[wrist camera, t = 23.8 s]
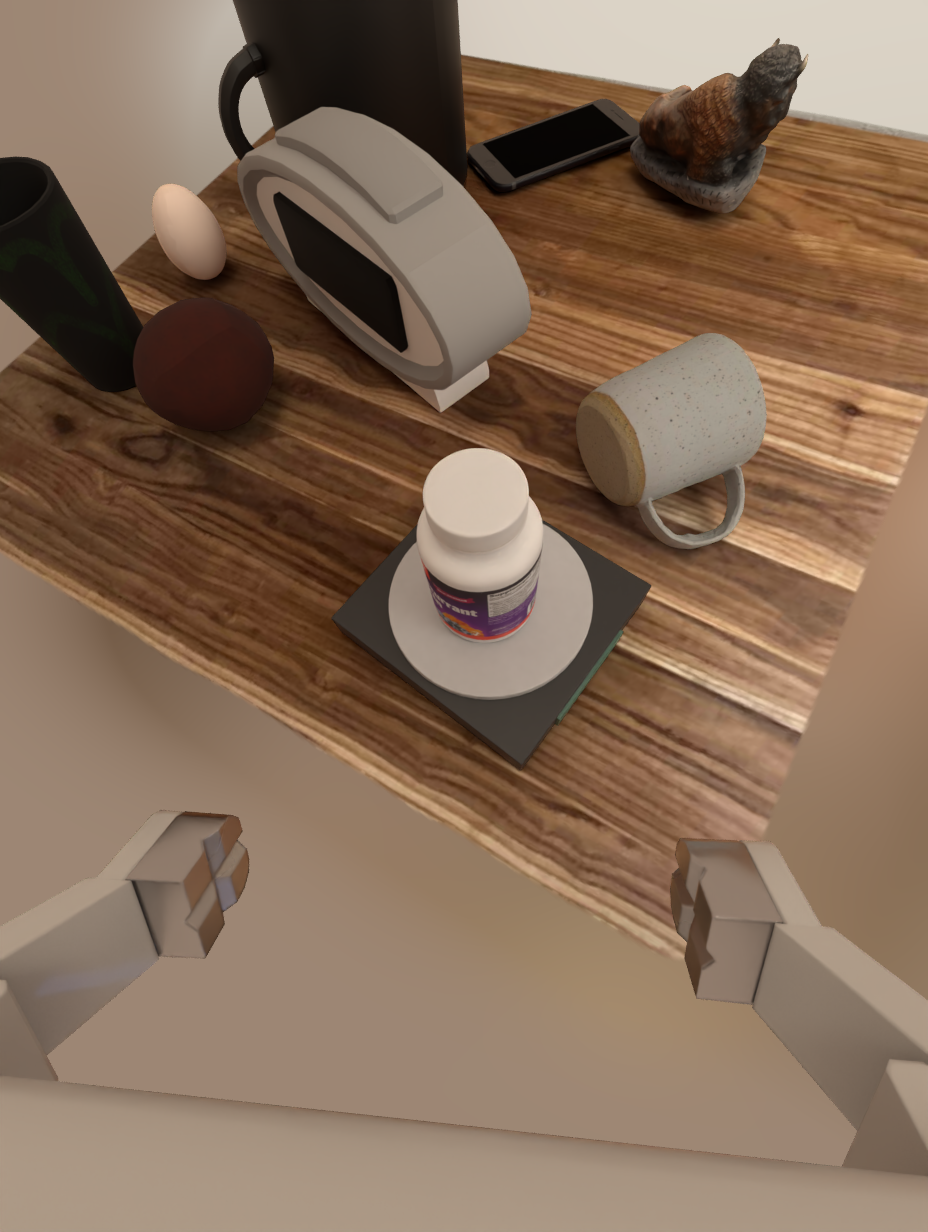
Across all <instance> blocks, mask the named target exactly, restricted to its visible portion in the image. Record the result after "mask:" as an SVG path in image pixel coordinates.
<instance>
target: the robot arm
mask: <svg viewBox="0 0 928 1232" xmlns="http://www.w3.org/2000/svg"><path fill="white" fill-rule="evenodd" d="M241 833H242V828H241V824H240V820H239V818H238V817H236V816H233V815H224V814H211V813H199V812H186V811H185V812H178V811H166V810H160V811H158V812H156V813H154V814H152V815H151V816H150V817H149V818H148V819H147V821H146V822H145V823H144V824H143V825H142V826H141V827H140V829H139V830H138V831H137V832H136V833H135V834H134V835H133V837H132V838H131V839H130V840H129V841H128V842H127V843H126V844H125V845H124V847H123V848H122V849H121V850H120V851H119V852H118V853H117V854H116V856H115V857H114V858H113V859H112V860H111V861H110V862H109V864H108V865H107V866H106V867H105V868H104V869H103V870H102V871H101V872H100V874H99V875H98V876H97V877H96V878H86V879H84V880H83V881H81V882H79V883H77V884H75V885H74V886H72V887H70V888H68V889H67V890H65V891H63V892H61V893H59V894H58V895H56V896H54V897H52V898H50V899H49V900H47V901H45V902H43V903H42V904H40V905H38V906H36V907H34V908H33V909H31V910H29V911H27V912H25V913H24V914H22V915H20V916H18V917H16V918H15V919H13V920H11V921H9V922H7V923H6V924H4V925H2V926H0V1232H928V1000H926V999H925V998H924V997H923V996H921V995H920V994H919V993H917V992H916V991H914V990H913V989H912V988H911V987H909V986H908V985H907V984H906V983H904V982H903V981H902V980H900V979H899V978H898V977H896V976H895V975H894V974H893V973H891V972H890V971H888V970H887V969H886V968H885V967H883V966H882V965H881V964H879V963H878V962H877V961H876V960H874V959H873V958H872V957H870V956H869V955H868V954H866V953H865V952H864V951H862V950H861V949H860V948H859V947H857V946H856V945H855V944H853V943H852V942H851V941H850V940H848V939H847V938H845V937H844V936H843V935H841V934H840V933H839V932H838V931H836V930H835V929H834V928H832V927H824V926H822V925H821V923H820V922H819V920H818V918H817V917H816V915H815V913H814V911H813V909H812V908H811V906H810V904H809V902H808V901H807V899H806V897H805V895H804V894H803V892H802V890H801V889H800V887H799V885H798V883H797V881H796V880H795V878H794V876H793V874H792V873H791V871H790V869H789V867H788V866H787V864H786V862H785V861H784V859H783V857H782V855H781V854H780V852H779V850H778V848H777V847H776V846H775V845H774V844H773V843H772V842H767V841H743V840H740V841H737V840H715V839H692V838H680V839H679V841H678V843H677V847H676V852H675V856H676V859H677V862H678V865H679V868H678V869H677V870H676V871H675V872H674V873H673V874H672V878H671V887H670V894H671V908H672V914H673V919H674V923H675V926H676V930H677V933H678V934H679V935H680V936H681V937H682V938H683V939H684V940H685V941H686V942H687V947H686V952H685V961H686V965H687V968H688V971H689V974H690V978H691V981H692V985H693V988H694V991H695V995H696V998H697V999H706V1000H715V1001H724V1002H732V1003H742V1004H751V1005H753V1007H752V1008H753V1009H754V1010H755V1011H756V1012H757V1014H758V1015H759V1016H760V1017H761V1018H762V1020H763V1021H764V1022H765V1023H766V1024H767V1025H768V1027H769V1028H770V1029H771V1030H772V1031H773V1033H774V1034H775V1035H776V1036H777V1037H778V1038H779V1039H780V1041H781V1042H782V1043H783V1044H784V1045H785V1047H786V1048H787V1049H788V1050H789V1051H790V1052H791V1054H792V1055H793V1056H794V1057H795V1058H796V1059H797V1061H798V1062H799V1063H800V1064H801V1065H802V1067H803V1068H804V1069H805V1070H806V1071H807V1072H808V1074H809V1075H810V1076H811V1077H812V1078H813V1079H814V1081H815V1082H816V1083H817V1084H818V1085H819V1086H820V1088H821V1089H822V1090H823V1091H824V1092H825V1094H826V1095H827V1096H828V1097H829V1098H830V1099H831V1101H832V1102H833V1103H834V1104H835V1105H836V1106H837V1107H838V1109H839V1110H840V1111H841V1112H842V1113H843V1115H844V1116H845V1117H846V1118H847V1119H848V1120H849V1121H850V1123H851V1124H852V1125H853V1126H854V1128H855V1129H856V1130H857V1133H856V1136H855V1138H854V1141H853V1143H852V1145H851V1147H850V1149H849V1151H848V1154H847V1156H846V1158H845V1160H844V1163H843V1165H842V1167H839V1166H828V1165H820V1164H811V1163H802V1162H793V1161H783V1160H774V1159H765V1158H756V1157H755V1158H754V1157H746V1156H738V1155H728V1154H719V1153H710V1152H701V1151H692V1150H682V1149H673V1148H664V1147H655V1146H646V1145H636V1144H627V1143H618V1142H609V1141H600V1140H591V1139H581V1138H573V1137H563V1136H554V1135H544V1134H536V1133H526V1132H517V1131H508V1130H499V1129H490V1128H482V1127H472V1126H463V1125H454V1124H445V1123H435V1122H426V1121H418V1120H408V1119H398V1118H388V1117H379V1116H371V1115H361V1114H352V1113H343V1112H334V1111H325V1110H315V1109H306V1108H296V1107H288V1106H279V1105H269V1104H260V1103H250V1102H242V1101H232V1100H223V1099H214V1098H205V1097H195V1096H186V1095H176V1094H168V1093H159V1092H150V1091H140V1090H132V1089H122V1088H113V1087H104V1086H95V1085H86V1084H77V1083H67V1082H58V1076H57V1075H56V1073H55V1071H54V1069H53V1067H52V1065H51V1063H50V1062H49V1060H48V1058H47V1055H48V1054H49V1053H50V1052H51V1051H52V1050H54V1048H56V1047H57V1046H58V1045H59V1044H61V1043H62V1042H63V1041H64V1040H65V1039H66V1038H68V1037H69V1036H70V1035H71V1034H72V1033H73V1032H75V1031H76V1030H77V1029H78V1028H79V1027H80V1026H82V1025H83V1024H84V1023H85V1022H86V1021H87V1020H89V1019H90V1018H91V1017H92V1016H93V1015H94V1014H96V1013H97V1012H98V1011H99V1010H100V1009H101V1008H103V1007H104V1006H105V1005H106V1004H107V1003H108V1002H110V1001H111V1000H112V999H113V998H114V997H116V996H117V995H118V994H119V993H120V992H121V991H123V990H124V989H125V988H126V987H127V986H128V985H130V984H131V983H132V982H133V981H134V980H135V979H136V978H138V977H139V976H140V975H141V974H142V973H143V972H145V971H146V970H147V969H148V968H149V967H151V966H152V965H153V964H154V963H155V962H156V961H157V960H159V957H158V956H162V957H184V958H203V959H204V958H206V956H207V954H208V953H209V951H210V949H211V947H212V946H213V944H214V942H215V940H216V939H217V937H218V935H219V933H220V931H221V930H222V928H223V926H224V924H225V923H224V917H223V912H224V911H225V910H227V909H228V908H230V907H231V906H232V905H233V904H235V903H236V902H237V901H238V899H239V897H240V896H241V894H242V892H243V890H244V888H245V884H246V881H247V877H248V873H249V856H248V852H247V849H246V848H245V847H244V846H243V845H242V844H241V843H240V842H239V841H238V840H237V839H238V838H239V836H240V834H241Z"/></svg>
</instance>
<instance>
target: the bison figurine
mask: <svg viewBox="0 0 928 1232" xmlns="http://www.w3.org/2000/svg"><path fill="white" fill-rule="evenodd" d="M779 41H780V39H779V38H778V39H777V40H776V41H775V43H774V44H773V45H772V47H770V48H768V49H767V50H766V51H764V52H763V53H762V54H760V55H759V56H757V57H756V58H755V59H754V60H753V61H752V62H751V63H750V66H749V68H748V70H747V71H746V72H745V73H744V74H743V75H742V76H741V77H736V76H734V75H733V74H730V73H725V74H722V75H720V76H717V77H714V78H712V79H711V80H709V81H707V82H705V83H704V84H702V85H701V86H699V87H698V88H696V89H695V90H694V91H692V90H691V88H690V87H688V86H686V85H683V86H680V87H678V88H676V89H674V90H673V91H670V92H668V93H665V94H663V95H661V96H659V97H658V98H657V99H656V100H655V101H654V102H653V103H652V104H651V105H650V107H649V109H648V110H647V111H646V113H645V114H644V116H643V117H642V119H641V121H640V124H639V135H640V137H638V138H637V139H636V140H635V141H634V142H633V144H632V145H631V148H630V153H631V158H632V159H633V161H634V163H635V165H636V166H637V168H638V170H639V171H640V173H641V174H642V175H643V176H644V177H645V178H647V179H648V180H651V181H653V182H655V183H657V184H658V185H660V186H661V187H662V188H664V189H666V190H667V191H669V192H671V193H673V194H675V195H676V196H678V197H680V198H681V199H682V200H683V201H685V202H686V203H688V204H691V205H694V206H697V207H700V208H703V209H705V210H709V211H713V212H716V213H728V212H731V211H733V210H734V209H736V208H737V207H738V206H739V204H740V203H741V202H742V200H743V199H744V198H745V196H746V195H747V194H748V192H749V191H750V190H751V188H752V187H753V185H754V183H755V182H756V180H757V178H758V176H759V173H760V170H761V167H762V164H763V160H764V157H765V154H766V147H765V146H764V145H762V144H761V143H763V142H764V141H765V140H766V139H767V137H768V134H769V133H770V132H771V131H772V130H773V129H774V128H775V127H776V126H777V124H778V123H779V121H781V120H782V119H784V118H785V117H786V115H787V112H788V110H789V106H790V102H791V99H792V95H793V93H794V92H795V90H796V87H797V78H798V76H799V75H800V74H801V73H802V71H803V70H804V69H805V67H806V64H807V60H808V54H807V55H806V57H805V58H804V60H803V61H802V60H801V55H800V52H799V48H798V47H797V46H793V45H788V44H786V45H785V44H780V45H778V44H779Z"/></svg>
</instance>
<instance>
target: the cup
mask: <svg viewBox="0 0 928 1232" xmlns="http://www.w3.org/2000/svg"><path fill="white" fill-rule="evenodd" d="M0 299H1V300H2V301H3V302H4V303H5V304H7V305H8V306H9V307H10V308H11V309H12V310H13V311H14V312H15V313H16V314H17V315H18V316H19V317H20V318H21V319H22V320H24V321H25V322H26V323H27V324H28V325H29V326H30V327H31V328H32V329H33V330H34V331H35V332H36V333H37V334H39V335H40V336H41V337H42V338H43V339H44V340H45V341H46V342H47V343H48V344H49V345H50V346H51V347H52V348H54V349H55V350H56V351H57V352H58V353H59V354H60V355H61V356H62V357H63V358H64V359H65V360H66V361H67V362H68V363H70V364H71V365H72V366H73V367H74V368H75V369H76V370H77V371H78V372H79V373H80V374H81V375H82V376H83V377H85V378H86V379H87V380H88V381H89V382H90V383H91V384H92V385H93V386H94V387H96V388H97V389H100V390H102V391H108V392H116V391H122V390H126V389H129V388H131V387H134V386H136V383H135V376H134V369H133V357H134V350H135V346H136V342H137V339H138V337H139V335H140V333H141V331H142V329H143V326H142V324H141V322H140V321H139V319H138V317H137V316H136V314H135V312H134V310H133V309H132V307H131V305H130V304H129V302H128V300H127V298H126V297H125V295H124V293H123V291H122V290H121V288H120V286H119V285H118V283H117V281H116V279H115V278H114V276H113V274H112V273H111V271H110V269H109V268H108V266H107V264H106V262H105V261H104V259H103V257H102V255H101V254H100V252H99V251H98V249H97V247H96V245H95V244H94V242H93V240H92V238H91V236H90V235H89V233H88V231H87V230H86V228H85V226H84V224H83V223H82V221H81V219H80V218H79V216H78V214H77V212H76V211H75V209H74V207H73V206H72V204H71V202H70V200H69V199H68V197H67V195H66V194H65V192H64V190H63V188H62V187H61V185H60V183H59V181H58V180H57V178H56V176H55V175H54V173H53V171H52V170H51V169H50V167H49V166H47V165H46V164H44V163H43V162H41V161H38V160H35V159H32V158H28V157H7V158H0Z"/></svg>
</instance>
